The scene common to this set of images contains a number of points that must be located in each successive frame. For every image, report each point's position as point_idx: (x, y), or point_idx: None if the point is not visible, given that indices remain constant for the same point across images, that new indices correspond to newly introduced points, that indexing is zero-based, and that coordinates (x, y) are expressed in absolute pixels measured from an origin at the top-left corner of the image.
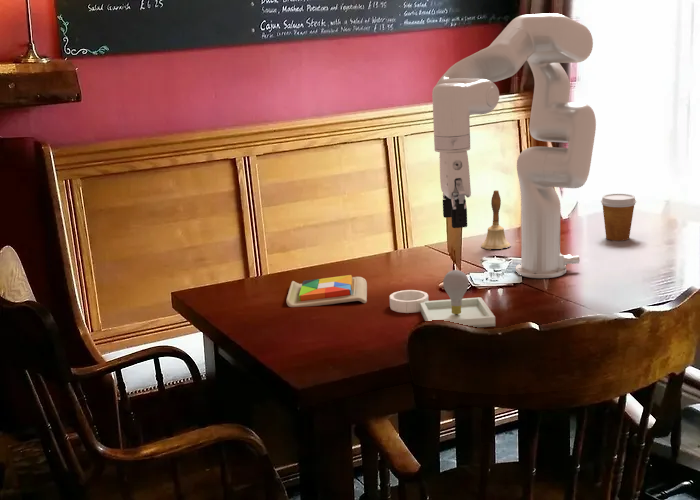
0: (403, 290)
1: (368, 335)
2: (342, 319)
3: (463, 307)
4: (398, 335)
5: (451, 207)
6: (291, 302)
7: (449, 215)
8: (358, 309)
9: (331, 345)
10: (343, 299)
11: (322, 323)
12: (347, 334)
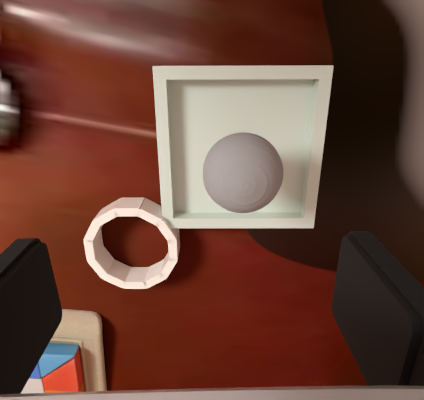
0: (86, 257)
1: (295, 322)
2: (194, 354)
3: (183, 121)
4: (312, 276)
5: (19, 324)
6: None
7: (51, 295)
8: (139, 327)
9: (324, 373)
10: (101, 357)
11: (209, 381)
12: (278, 351)
